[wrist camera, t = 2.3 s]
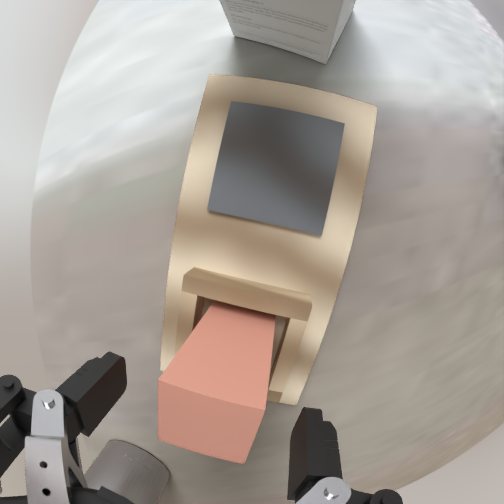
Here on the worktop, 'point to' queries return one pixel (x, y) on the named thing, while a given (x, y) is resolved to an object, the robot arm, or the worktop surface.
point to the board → (268, 215)
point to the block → (218, 383)
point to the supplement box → (291, 23)
